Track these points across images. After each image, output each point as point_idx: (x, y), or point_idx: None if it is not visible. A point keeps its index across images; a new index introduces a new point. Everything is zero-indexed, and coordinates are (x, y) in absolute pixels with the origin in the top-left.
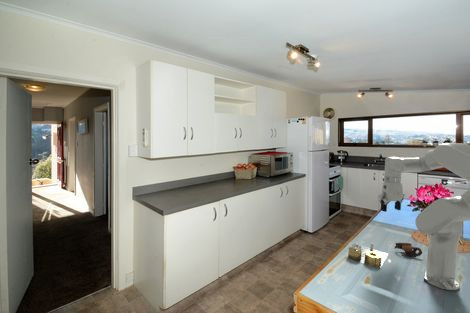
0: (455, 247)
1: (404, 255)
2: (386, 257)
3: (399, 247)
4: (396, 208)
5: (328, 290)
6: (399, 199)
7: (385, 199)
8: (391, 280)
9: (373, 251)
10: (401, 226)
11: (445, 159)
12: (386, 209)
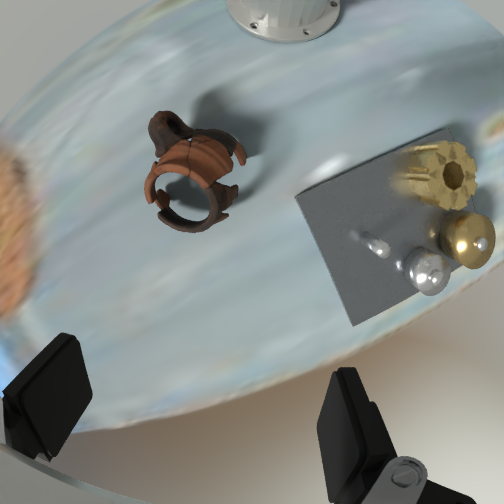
0: None
1: (240, 150)
2: (343, 175)
3: (184, 219)
4: (81, 382)
5: None
6: (2, 470)
7: None
8: (442, 80)
9: (347, 243)
10: (11, 361)
11: None
12: (349, 388)
